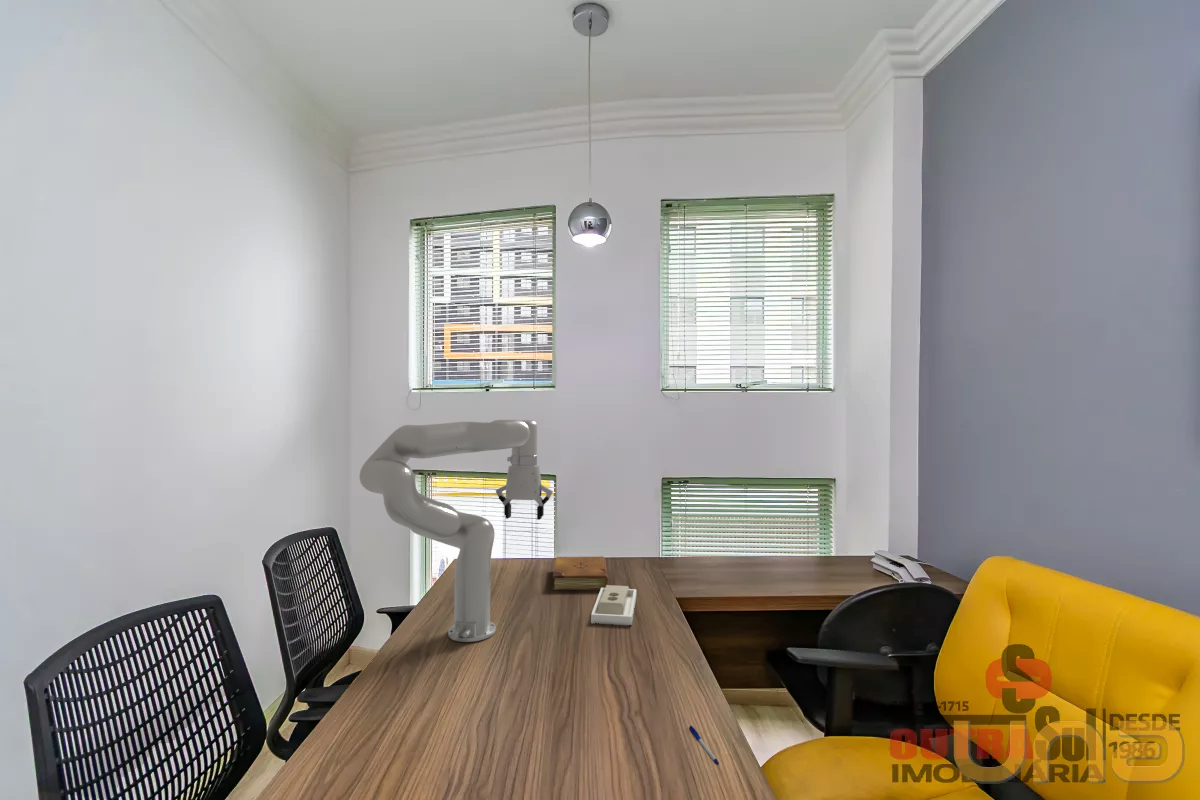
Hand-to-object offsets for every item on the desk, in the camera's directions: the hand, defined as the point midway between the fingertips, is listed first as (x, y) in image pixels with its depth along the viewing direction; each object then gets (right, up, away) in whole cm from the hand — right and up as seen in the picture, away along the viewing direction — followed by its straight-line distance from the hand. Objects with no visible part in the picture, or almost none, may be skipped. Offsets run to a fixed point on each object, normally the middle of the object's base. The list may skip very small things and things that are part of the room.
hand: (523, 518), depth 153 cm
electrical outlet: (+27, -28, +4) cm, 39 cm away
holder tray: (+28, -29, +3) cm, 40 cm away
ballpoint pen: (+42, -27, -61) cm, 79 cm away
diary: (+16, -30, +30) cm, 46 cm away
